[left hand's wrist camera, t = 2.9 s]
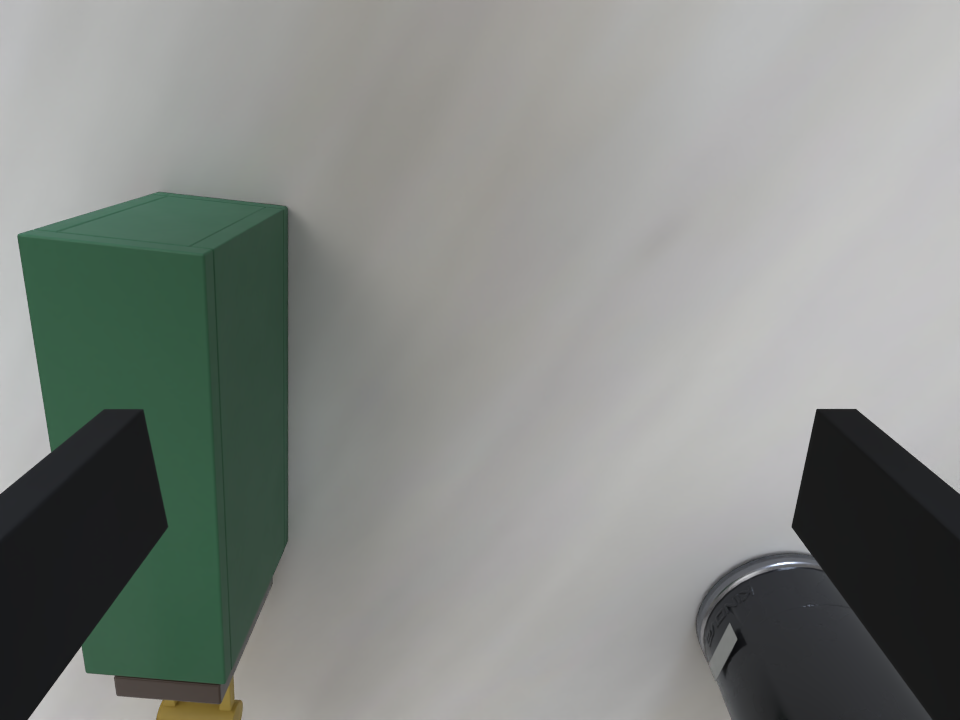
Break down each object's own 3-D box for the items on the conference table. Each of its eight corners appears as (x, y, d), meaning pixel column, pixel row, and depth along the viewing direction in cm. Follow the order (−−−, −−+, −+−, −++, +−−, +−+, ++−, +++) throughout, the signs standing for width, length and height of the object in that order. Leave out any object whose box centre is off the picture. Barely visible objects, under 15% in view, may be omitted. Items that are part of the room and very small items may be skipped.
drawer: (273, 656, 39) (225, 787, 31) (194, 649, 38) (127, 779, 31) (269, 281, 30) (201, 341, 23) (167, 270, 30) (65, 327, 23)
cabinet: (288, 541, 37) (225, 685, 28) (182, 531, 36) (85, 674, 27) (288, 206, 30) (204, 254, 21) (157, 191, 29) (15, 233, 20)
